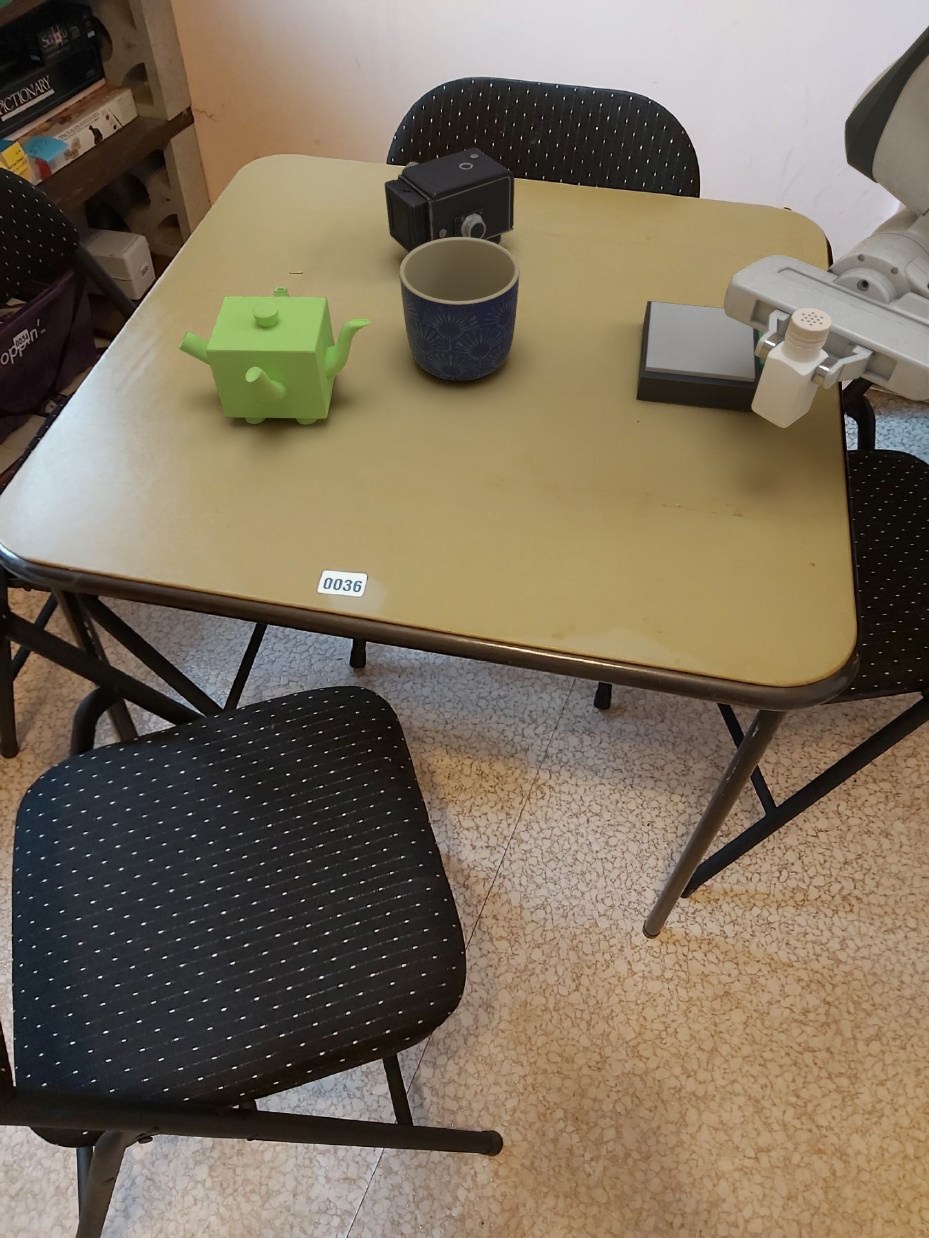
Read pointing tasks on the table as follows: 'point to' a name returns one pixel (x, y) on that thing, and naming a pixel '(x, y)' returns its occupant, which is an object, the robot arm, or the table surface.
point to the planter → (459, 306)
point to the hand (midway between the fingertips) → (792, 365)
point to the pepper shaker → (793, 369)
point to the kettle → (274, 356)
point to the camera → (451, 200)
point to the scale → (698, 357)
